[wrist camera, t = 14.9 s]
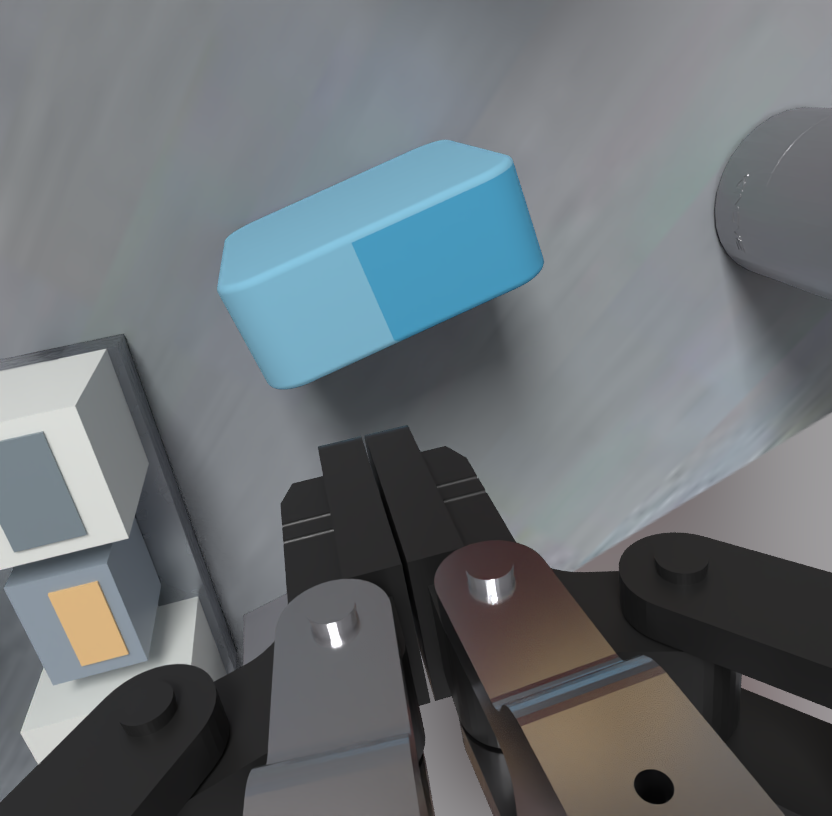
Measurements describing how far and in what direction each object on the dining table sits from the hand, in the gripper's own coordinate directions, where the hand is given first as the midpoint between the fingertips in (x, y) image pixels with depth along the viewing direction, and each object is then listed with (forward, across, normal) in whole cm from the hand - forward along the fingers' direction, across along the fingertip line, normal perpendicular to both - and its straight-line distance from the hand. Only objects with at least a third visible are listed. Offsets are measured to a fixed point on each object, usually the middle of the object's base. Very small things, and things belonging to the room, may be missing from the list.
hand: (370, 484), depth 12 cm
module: (+25, +14, +15) cm, 32 cm away
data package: (+27, -3, +1) cm, 27 cm away
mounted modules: (+25, +14, +15) cm, 32 cm away
